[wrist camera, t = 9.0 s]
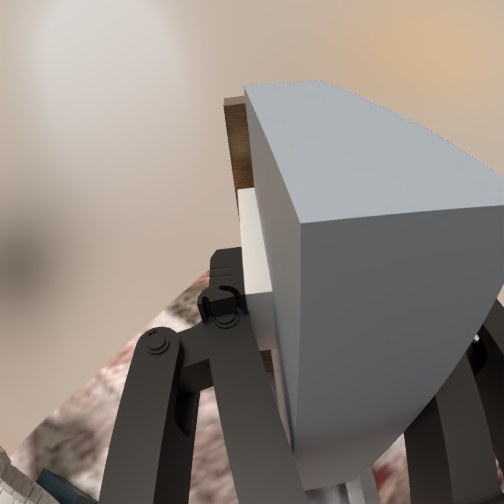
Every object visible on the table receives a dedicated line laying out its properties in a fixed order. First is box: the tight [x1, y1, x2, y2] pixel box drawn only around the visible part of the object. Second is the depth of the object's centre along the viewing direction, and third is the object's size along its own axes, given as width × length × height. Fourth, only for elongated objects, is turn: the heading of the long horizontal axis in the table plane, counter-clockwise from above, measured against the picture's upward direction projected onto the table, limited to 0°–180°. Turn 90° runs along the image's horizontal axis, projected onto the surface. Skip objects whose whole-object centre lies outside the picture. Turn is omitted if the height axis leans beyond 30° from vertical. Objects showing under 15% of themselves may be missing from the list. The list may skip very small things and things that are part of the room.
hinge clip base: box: [224, 96, 380, 504], centre depth 15 cm, size 10×19×22 cm, turn 4°
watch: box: [0, 446, 98, 504], centre depth 12 cm, size 6×8×11 cm
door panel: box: [244, 81, 504, 491], centre depth 11 cm, size 3×11×14 cm, turn 4°
